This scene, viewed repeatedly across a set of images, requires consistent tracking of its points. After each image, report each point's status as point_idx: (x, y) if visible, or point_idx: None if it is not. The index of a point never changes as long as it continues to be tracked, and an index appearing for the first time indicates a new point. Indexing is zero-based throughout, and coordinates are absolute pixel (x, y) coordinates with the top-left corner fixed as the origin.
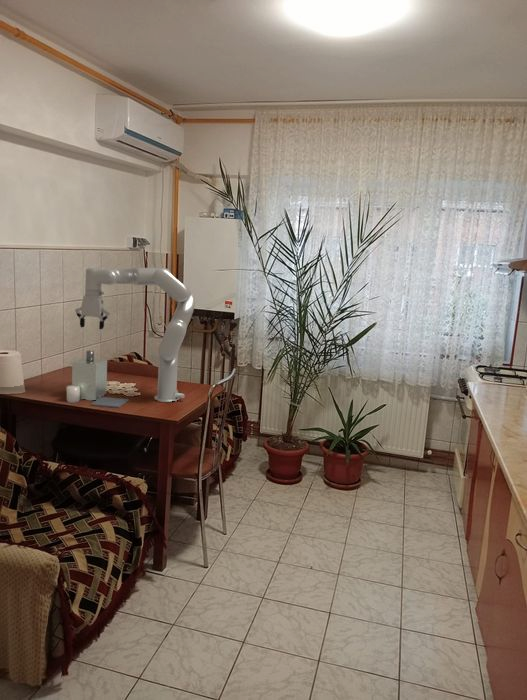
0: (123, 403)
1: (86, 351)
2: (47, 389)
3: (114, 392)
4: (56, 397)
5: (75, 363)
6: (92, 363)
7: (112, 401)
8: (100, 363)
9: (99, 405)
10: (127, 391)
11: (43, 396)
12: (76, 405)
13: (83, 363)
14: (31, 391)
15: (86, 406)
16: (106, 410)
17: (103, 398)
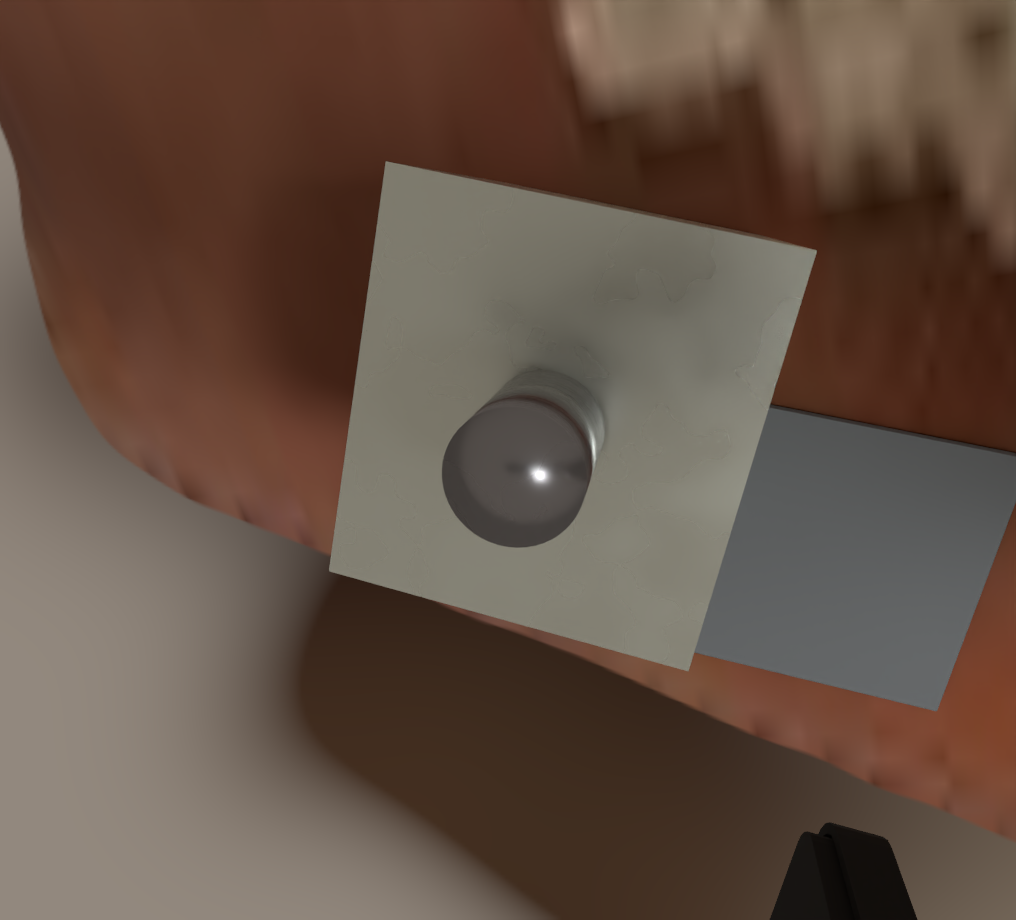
0: (975, 604)
1: (448, 498)
2: (157, 143)
3: (840, 121)
4: (331, 417)
5: (379, 578)
6: (620, 606)
7: (860, 554)
8: (732, 518)
9: (751, 663)
10: (1003, 33)
11: (224, 400)
12: (557, 638)
13: (493, 615)
14: (69, 248)
15: (642, 661)
16: (826, 761)
17: (758, 460)
